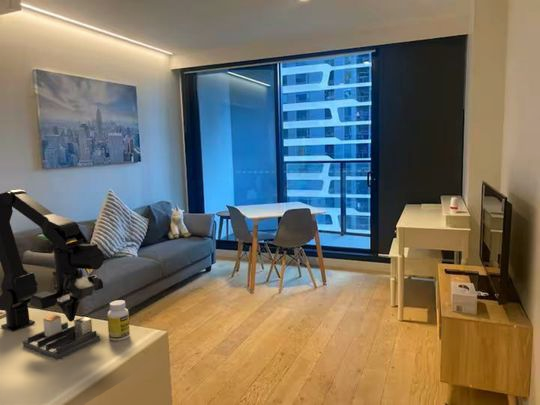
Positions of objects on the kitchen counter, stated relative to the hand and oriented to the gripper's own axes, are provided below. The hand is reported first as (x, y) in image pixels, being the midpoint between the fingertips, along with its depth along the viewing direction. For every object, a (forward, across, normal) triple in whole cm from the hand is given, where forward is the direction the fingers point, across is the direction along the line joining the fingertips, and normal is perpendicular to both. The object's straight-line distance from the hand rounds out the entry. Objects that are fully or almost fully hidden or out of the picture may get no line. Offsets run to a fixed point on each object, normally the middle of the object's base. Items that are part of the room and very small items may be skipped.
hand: (71, 321), depth 115 cm
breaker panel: (+4, -6, -4) cm, 7 cm away
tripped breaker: (+2, -5, 0) cm, 6 cm away
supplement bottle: (+4, +4, -14) cm, 15 cm away
